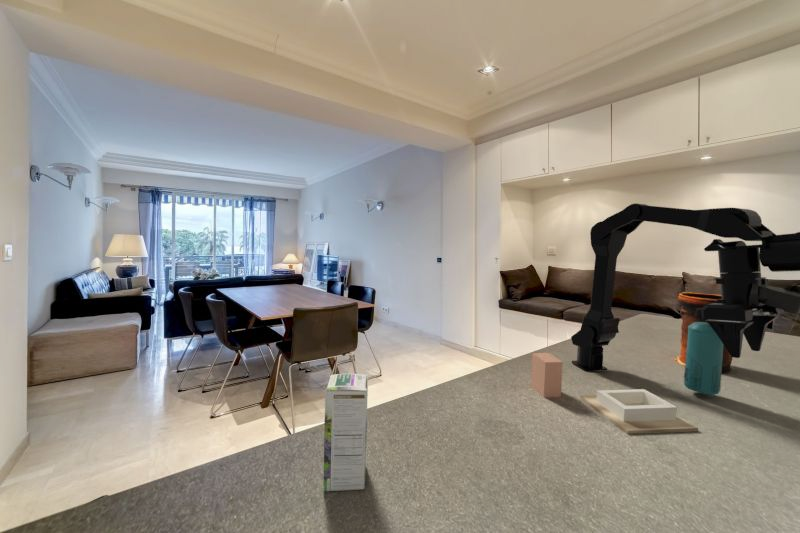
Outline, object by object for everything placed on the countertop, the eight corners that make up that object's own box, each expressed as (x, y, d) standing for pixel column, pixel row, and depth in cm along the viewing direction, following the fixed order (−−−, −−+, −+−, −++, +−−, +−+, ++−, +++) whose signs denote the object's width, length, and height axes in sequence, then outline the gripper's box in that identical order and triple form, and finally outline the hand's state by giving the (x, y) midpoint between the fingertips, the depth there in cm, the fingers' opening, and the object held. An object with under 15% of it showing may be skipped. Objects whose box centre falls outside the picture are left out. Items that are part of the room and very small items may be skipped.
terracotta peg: (531, 385, 83) (532, 353, 82) (547, 385, 83) (548, 353, 83) (543, 397, 77) (545, 362, 76) (560, 396, 78) (562, 362, 77)
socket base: (580, 398, 77) (580, 395, 77) (639, 396, 78) (639, 393, 78) (627, 433, 63) (627, 430, 63) (697, 431, 64) (698, 427, 64)
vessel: (674, 352, 110) (682, 289, 108) (737, 365, 100) (747, 297, 98) (666, 363, 100) (674, 294, 98) (735, 379, 90) (746, 303, 87)
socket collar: (596, 401, 74) (597, 390, 74) (643, 400, 75) (644, 389, 75) (623, 421, 66) (624, 408, 66) (675, 419, 67) (677, 407, 67)
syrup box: (328, 465, 53) (328, 373, 52) (367, 463, 54) (367, 372, 52) (323, 492, 47) (322, 390, 46) (366, 490, 48) (367, 389, 47)
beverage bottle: (727, 403, 76) (736, 312, 74) (692, 399, 77) (700, 311, 75) (707, 390, 82) (715, 306, 80) (675, 387, 83) (682, 305, 82)
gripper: (781, 272, 56) (790, 371, 55) (818, 269, 64) (826, 354, 64) (697, 274, 66) (703, 358, 65) (739, 272, 74) (744, 345, 74)
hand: (746, 354), depth 67 cm, fingers open, 9 cm apart
